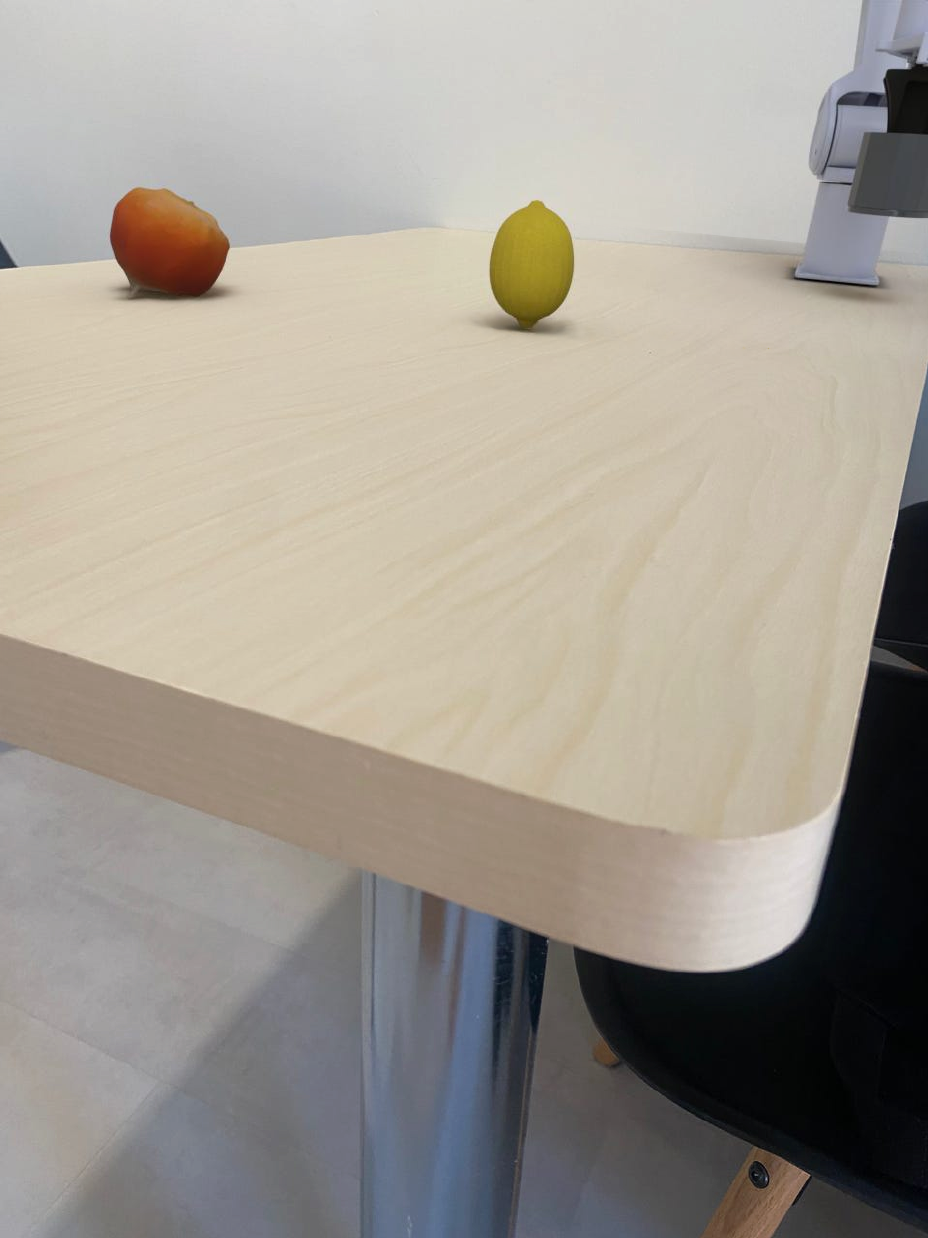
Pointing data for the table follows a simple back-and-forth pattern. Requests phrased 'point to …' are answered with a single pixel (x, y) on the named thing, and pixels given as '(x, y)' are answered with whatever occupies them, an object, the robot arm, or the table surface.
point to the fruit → (167, 243)
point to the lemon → (532, 264)
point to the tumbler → (891, 176)
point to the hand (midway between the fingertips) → (898, 172)
